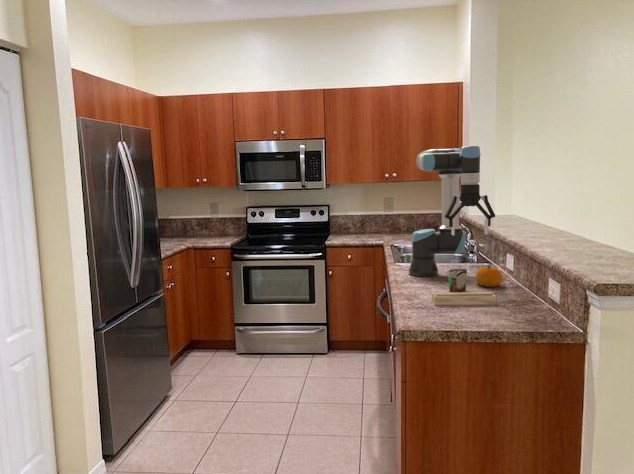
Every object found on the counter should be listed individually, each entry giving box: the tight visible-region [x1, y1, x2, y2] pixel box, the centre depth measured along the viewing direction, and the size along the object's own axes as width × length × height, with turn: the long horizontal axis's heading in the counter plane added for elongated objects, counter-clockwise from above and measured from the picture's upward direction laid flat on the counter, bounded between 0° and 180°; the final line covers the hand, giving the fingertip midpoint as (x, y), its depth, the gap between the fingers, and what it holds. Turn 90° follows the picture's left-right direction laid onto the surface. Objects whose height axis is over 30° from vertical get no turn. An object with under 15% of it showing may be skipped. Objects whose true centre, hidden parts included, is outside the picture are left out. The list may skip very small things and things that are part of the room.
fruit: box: [475, 264, 503, 288], centre depth 221 cm, size 12×12×10 cm
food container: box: [446, 268, 468, 293], centre depth 210 cm, size 12×6×10 cm, turn 141°
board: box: [431, 291, 497, 306], centre depth 194 cm, size 6×24×4 cm, turn 85°
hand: (469, 234), depth 201 cm, fingers open, 13 cm apart
